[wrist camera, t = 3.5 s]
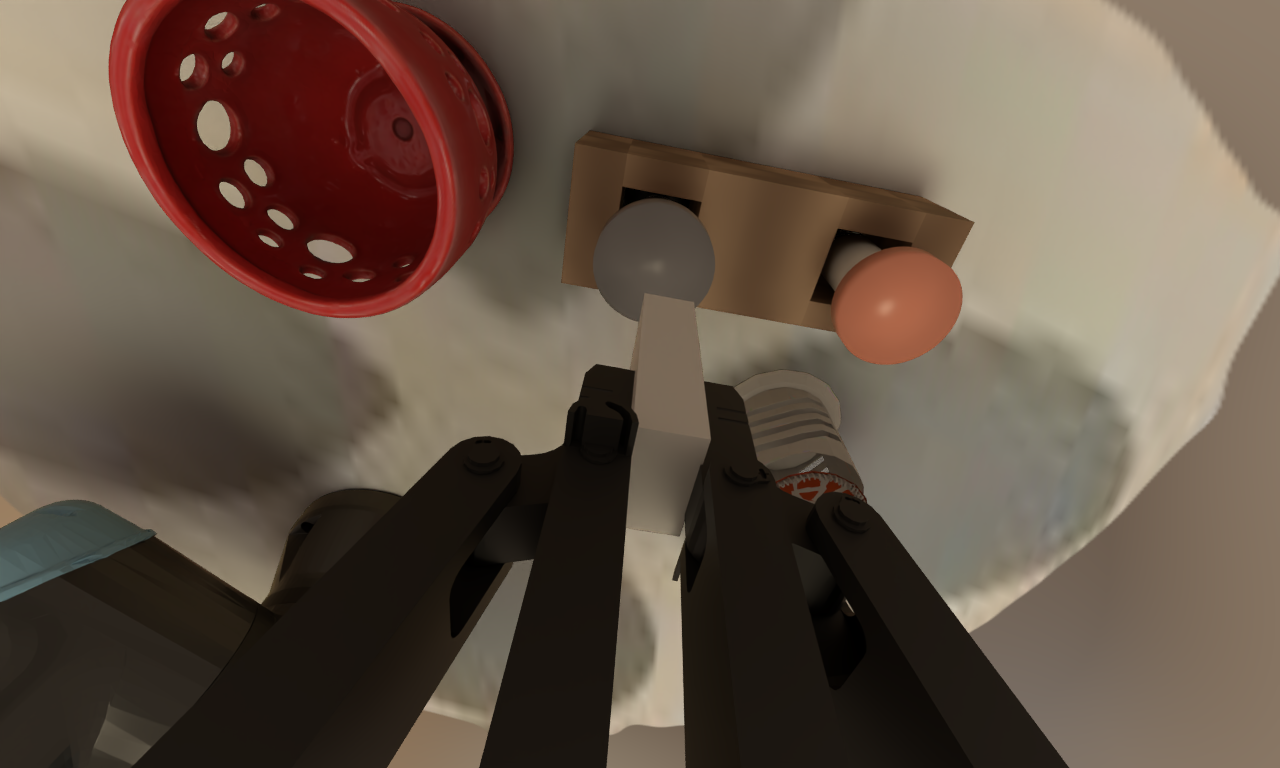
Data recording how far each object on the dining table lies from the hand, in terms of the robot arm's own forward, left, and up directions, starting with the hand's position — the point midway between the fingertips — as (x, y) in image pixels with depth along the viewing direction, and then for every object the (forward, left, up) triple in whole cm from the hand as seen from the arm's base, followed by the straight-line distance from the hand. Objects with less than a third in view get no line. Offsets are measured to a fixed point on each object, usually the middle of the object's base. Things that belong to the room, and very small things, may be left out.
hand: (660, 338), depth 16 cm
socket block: (+5, 0, -18) cm, 19 cm away
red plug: (+11, 0, -14) cm, 18 cm away
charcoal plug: (0, 0, -14) cm, 14 cm away
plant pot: (-15, +1, -18) cm, 24 cm away
